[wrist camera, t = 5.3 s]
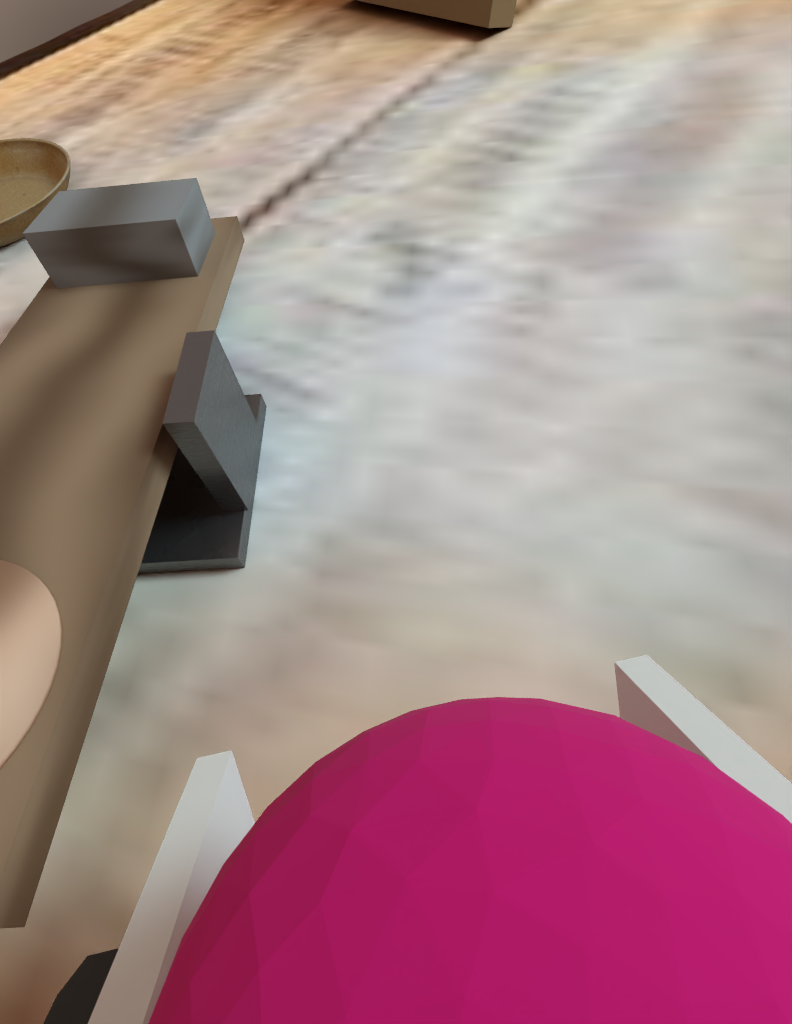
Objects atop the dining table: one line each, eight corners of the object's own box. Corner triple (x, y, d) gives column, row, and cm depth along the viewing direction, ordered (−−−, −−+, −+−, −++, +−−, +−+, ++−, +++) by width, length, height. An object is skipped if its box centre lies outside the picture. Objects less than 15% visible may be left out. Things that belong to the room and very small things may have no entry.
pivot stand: (269, 406, 30) (223, 292, 23) (248, 566, 24) (181, 476, 18) (25, 424, 30) (-85, 318, 24) (-45, 583, 25) (-209, 502, 19)
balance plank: (253, 239, 34) (230, 161, 30) (47, 926, 13) (-106, 934, 9) (86, 254, 35) (45, 179, 31) (-371, 935, 14) (-667, 946, 10)
